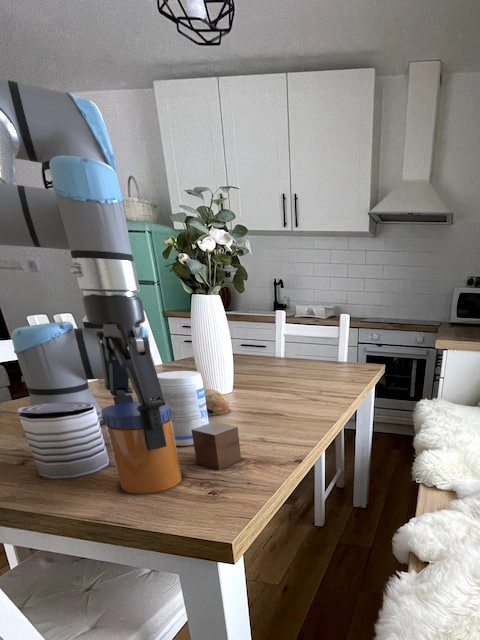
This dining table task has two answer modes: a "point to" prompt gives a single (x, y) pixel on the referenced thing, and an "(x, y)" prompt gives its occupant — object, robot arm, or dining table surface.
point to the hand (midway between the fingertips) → (143, 439)
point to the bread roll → (216, 402)
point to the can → (64, 438)
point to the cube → (216, 445)
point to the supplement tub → (184, 403)
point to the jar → (144, 460)
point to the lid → (129, 415)
